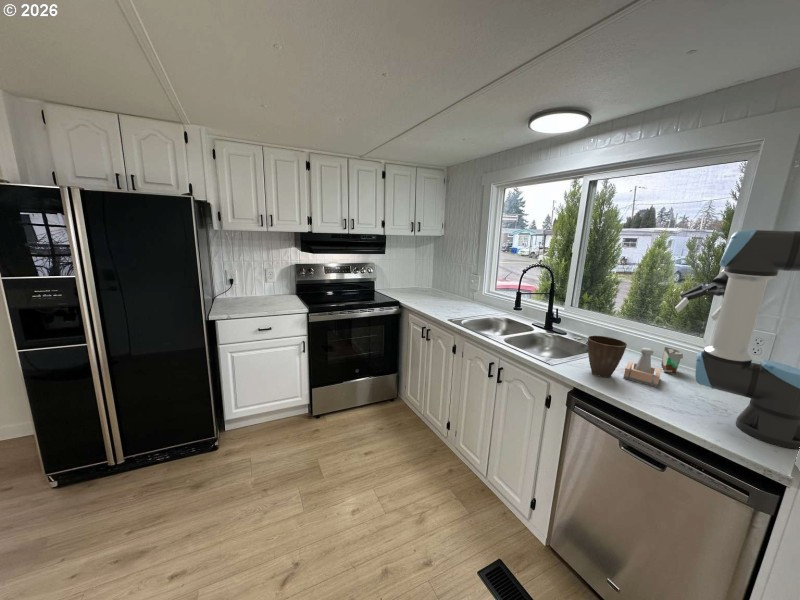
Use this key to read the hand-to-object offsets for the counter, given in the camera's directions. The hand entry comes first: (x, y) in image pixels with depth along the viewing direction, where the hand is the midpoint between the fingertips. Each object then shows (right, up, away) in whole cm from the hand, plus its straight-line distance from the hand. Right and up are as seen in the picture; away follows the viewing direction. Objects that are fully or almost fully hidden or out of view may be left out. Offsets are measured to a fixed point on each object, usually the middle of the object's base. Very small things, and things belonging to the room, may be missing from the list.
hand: (693, 313), depth 132 cm
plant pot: (-30, -28, +14) cm, 43 cm away
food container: (+8, -29, +21) cm, 37 cm away
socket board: (-13, -29, +11) cm, 34 cm away
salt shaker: (-14, -29, +11) cm, 33 cm away
